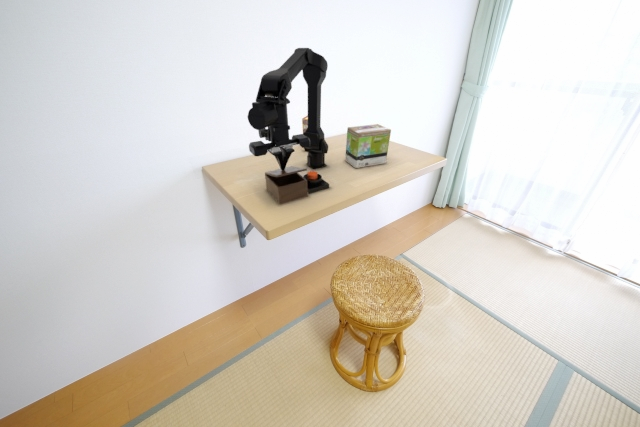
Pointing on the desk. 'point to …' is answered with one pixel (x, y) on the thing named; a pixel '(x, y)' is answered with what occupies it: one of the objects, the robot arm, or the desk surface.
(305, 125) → the candy box
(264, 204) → the desk surface
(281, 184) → the open wooden box
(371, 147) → the tea box
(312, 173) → the button
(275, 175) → the wooden box lid
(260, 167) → the desk surface
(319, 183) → the control block
